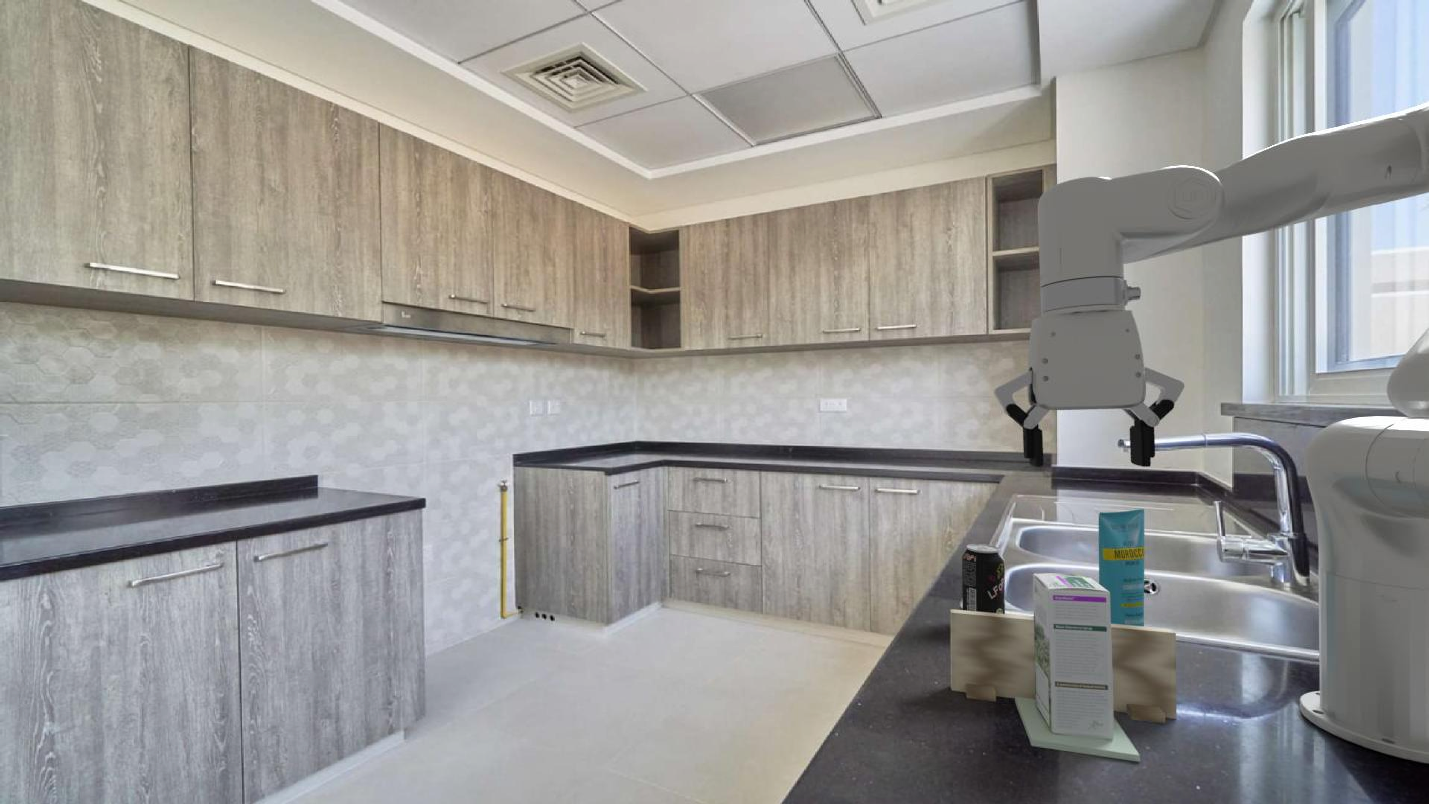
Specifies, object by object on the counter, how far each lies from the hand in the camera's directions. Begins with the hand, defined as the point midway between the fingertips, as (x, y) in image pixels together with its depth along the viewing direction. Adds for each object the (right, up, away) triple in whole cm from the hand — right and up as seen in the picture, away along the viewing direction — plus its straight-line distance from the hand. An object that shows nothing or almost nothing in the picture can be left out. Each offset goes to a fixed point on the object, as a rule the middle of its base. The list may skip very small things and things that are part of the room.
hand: (1087, 465), depth 63 cm
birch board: (-1, -27, +4) cm, 27 cm away
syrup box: (-3, -26, -2) cm, 26 cm away
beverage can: (+1, -27, +26) cm, 38 cm away
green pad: (-3, -27, -2) cm, 27 cm away
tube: (+14, -27, +16) cm, 34 cm away
